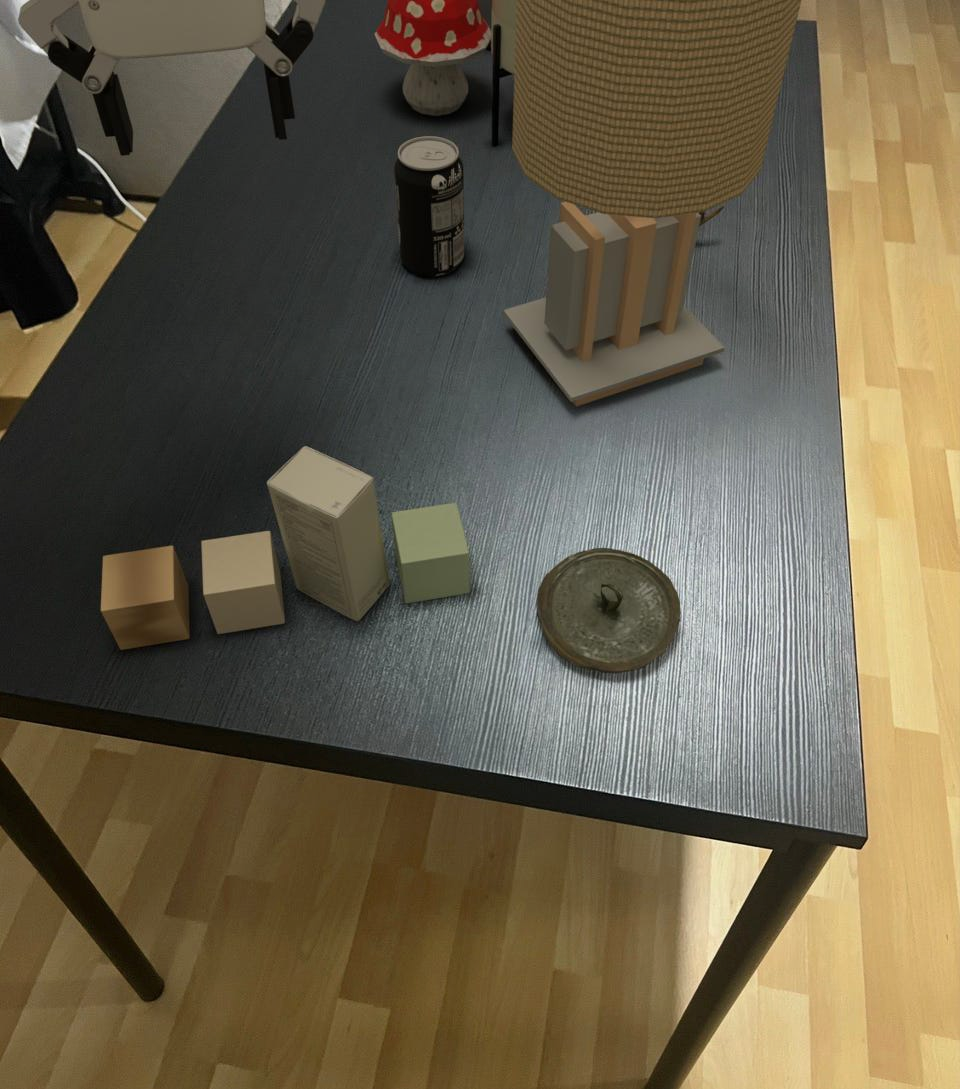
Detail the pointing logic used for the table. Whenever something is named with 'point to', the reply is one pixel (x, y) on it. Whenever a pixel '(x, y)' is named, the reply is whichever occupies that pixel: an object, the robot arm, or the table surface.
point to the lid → (608, 610)
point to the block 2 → (242, 582)
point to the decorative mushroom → (434, 49)
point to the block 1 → (145, 597)
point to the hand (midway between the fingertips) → (204, 136)
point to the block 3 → (431, 552)
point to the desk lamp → (636, 169)
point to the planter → (501, 52)
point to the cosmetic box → (331, 531)
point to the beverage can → (430, 205)
